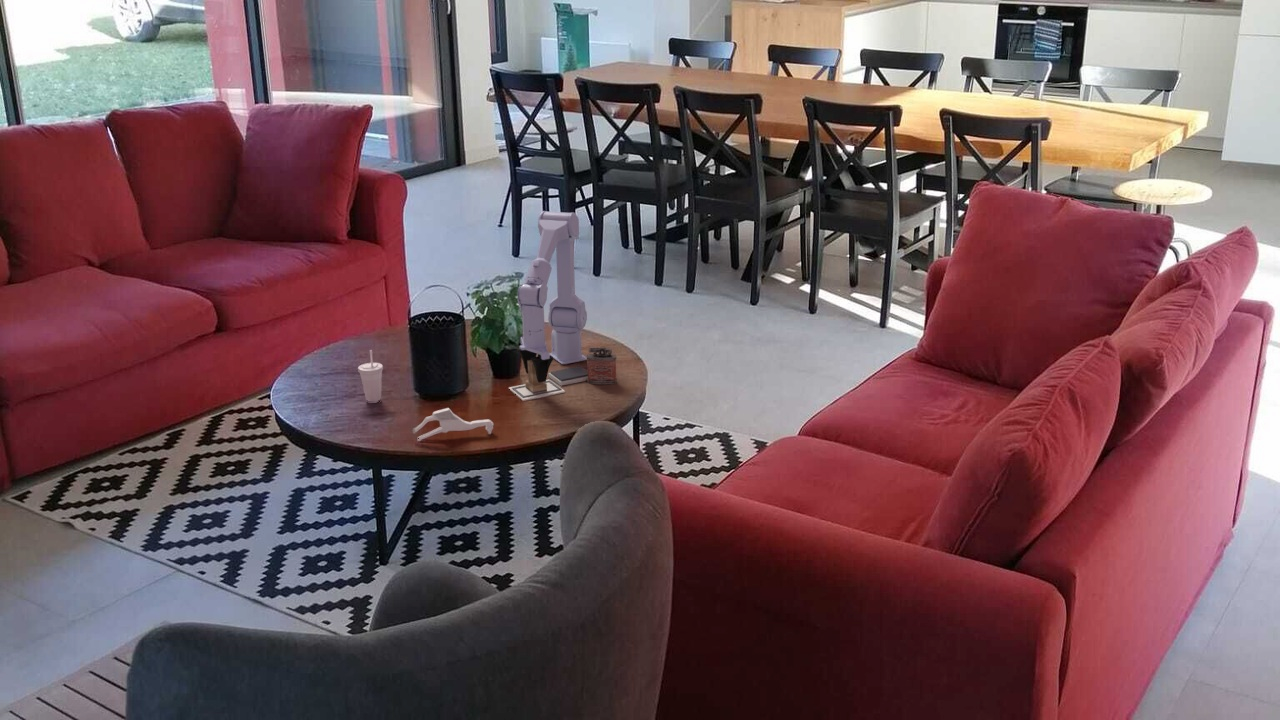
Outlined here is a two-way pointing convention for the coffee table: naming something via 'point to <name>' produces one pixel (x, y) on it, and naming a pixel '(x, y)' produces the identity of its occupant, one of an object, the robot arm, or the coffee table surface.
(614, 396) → the coffee table surface
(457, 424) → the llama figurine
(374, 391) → the smoothie
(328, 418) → the coffee table surface
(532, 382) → the stamp
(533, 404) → the coffee table surface
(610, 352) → the lighter
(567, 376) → the ink pad
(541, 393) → the marked card
